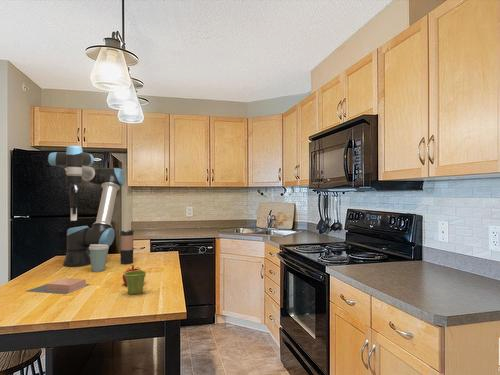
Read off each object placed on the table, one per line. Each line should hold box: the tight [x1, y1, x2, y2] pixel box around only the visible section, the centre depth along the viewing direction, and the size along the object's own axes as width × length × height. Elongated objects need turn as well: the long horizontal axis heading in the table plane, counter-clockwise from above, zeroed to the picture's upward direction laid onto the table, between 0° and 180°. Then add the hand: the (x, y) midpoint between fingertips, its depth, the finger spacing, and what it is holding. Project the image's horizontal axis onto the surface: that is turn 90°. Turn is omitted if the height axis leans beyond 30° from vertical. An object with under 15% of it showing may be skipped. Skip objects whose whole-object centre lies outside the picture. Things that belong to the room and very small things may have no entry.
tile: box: [46, 277, 87, 293], centre depth 151 cm, size 10×3×12 cm
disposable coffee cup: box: [88, 244, 110, 273], centre depth 188 cm, size 11×11×15 cm
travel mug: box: [119, 230, 134, 265], centre depth 208 cm, size 8×8×20 cm
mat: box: [25, 283, 92, 295], centre depth 152 cm, size 16×21×1 cm
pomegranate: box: [122, 264, 143, 287], centre depth 160 cm, size 10×10×9 cm
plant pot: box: [123, 270, 147, 295], centre depth 146 cm, size 9×9×9 cm
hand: (73, 220), depth 175 cm, fingers closed
